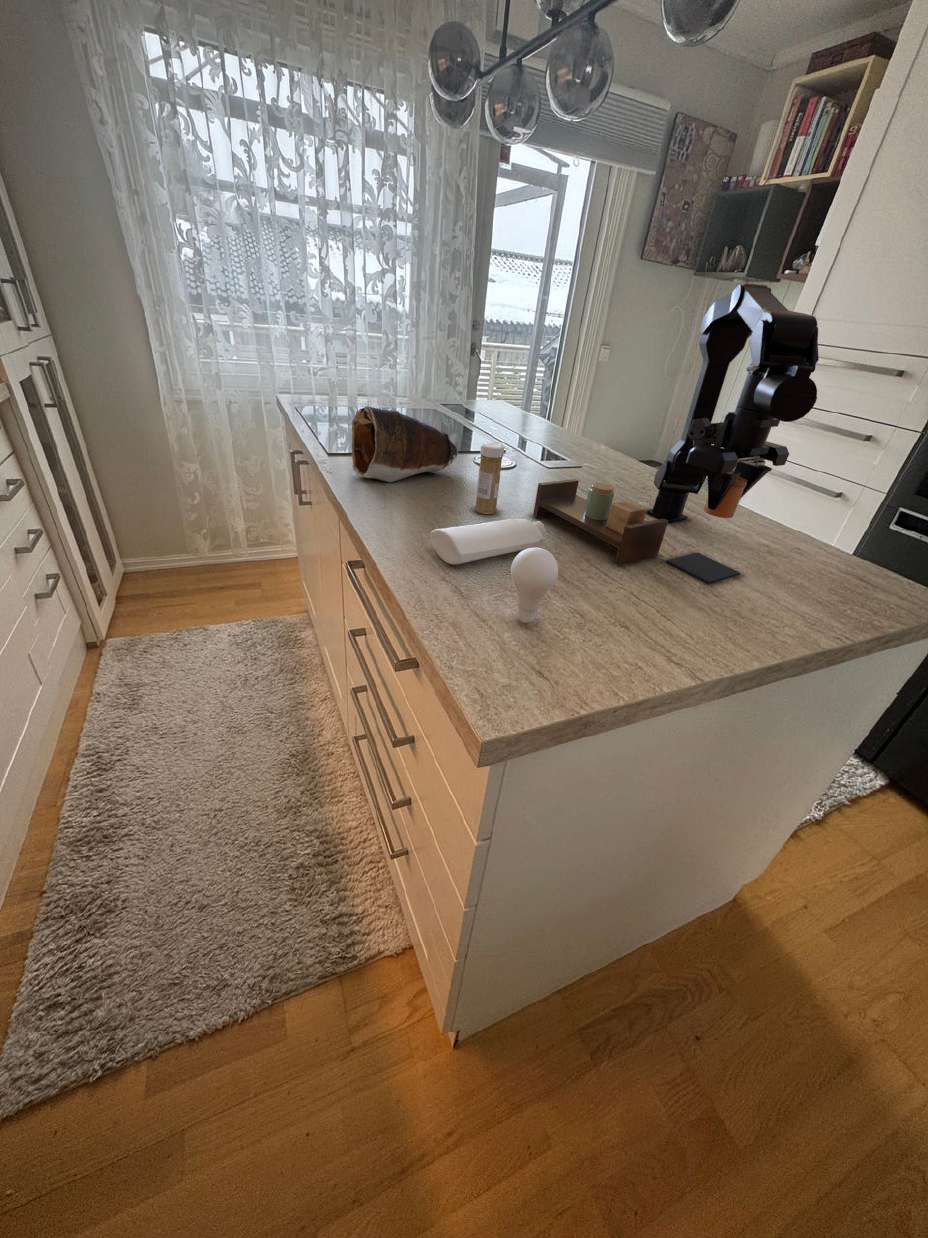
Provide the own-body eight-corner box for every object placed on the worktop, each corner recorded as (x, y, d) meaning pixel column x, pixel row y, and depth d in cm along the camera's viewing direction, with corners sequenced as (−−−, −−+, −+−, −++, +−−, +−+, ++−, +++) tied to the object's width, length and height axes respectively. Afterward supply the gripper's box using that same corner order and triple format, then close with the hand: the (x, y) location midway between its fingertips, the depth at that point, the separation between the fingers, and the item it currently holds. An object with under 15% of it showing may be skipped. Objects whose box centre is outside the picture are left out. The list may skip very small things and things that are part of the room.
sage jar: (596, 510, 101) (602, 481, 98) (613, 518, 98) (620, 488, 95) (578, 513, 99) (585, 483, 96) (595, 521, 96) (603, 491, 93)
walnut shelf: (568, 510, 112) (575, 478, 108) (657, 556, 95) (668, 520, 91) (532, 516, 107) (538, 483, 103) (619, 565, 90) (630, 528, 86)
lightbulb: (500, 610, 73) (510, 538, 68) (542, 611, 74) (556, 540, 68) (507, 634, 68) (518, 558, 63) (551, 635, 69) (567, 561, 63)
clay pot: (478, 427, 120) (379, 406, 106) (466, 493, 125) (370, 482, 111) (445, 421, 131) (352, 402, 117) (436, 482, 136) (345, 471, 122)
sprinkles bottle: (500, 513, 106) (509, 447, 99) (482, 516, 104) (490, 448, 97) (487, 506, 110) (495, 441, 102) (470, 508, 107) (476, 442, 100)
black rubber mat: (696, 554, 97) (697, 552, 97) (739, 574, 91) (740, 572, 91) (665, 562, 93) (666, 560, 93) (708, 584, 87) (709, 582, 86)
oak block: (622, 523, 96) (628, 500, 94) (640, 532, 93) (647, 508, 91) (605, 526, 94) (611, 503, 92) (623, 535, 91) (630, 511, 89)
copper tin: (714, 506, 90) (726, 471, 87) (740, 516, 87) (754, 481, 83) (696, 509, 88) (708, 474, 84) (722, 519, 84) (735, 483, 81)
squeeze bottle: (429, 549, 89) (430, 521, 86) (520, 533, 98) (524, 507, 96) (458, 573, 82) (461, 544, 79) (553, 553, 92) (558, 526, 89)
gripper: (744, 398, 89) (713, 487, 97) (674, 399, 79) (646, 497, 88) (808, 411, 81) (768, 507, 89) (739, 414, 72) (701, 520, 80)
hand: (720, 507), depth 87 cm, fingers closed on copper tin, 5 cm apart
